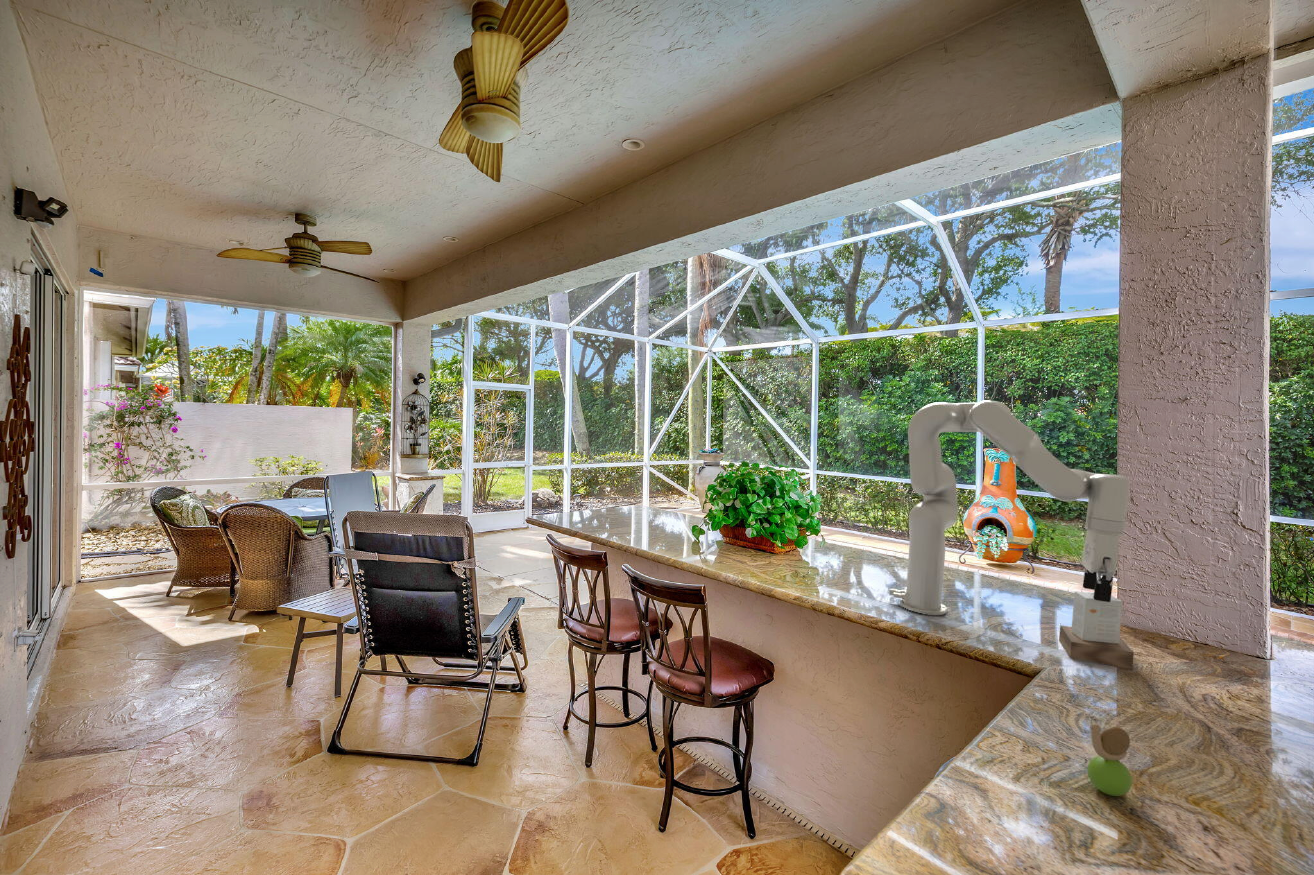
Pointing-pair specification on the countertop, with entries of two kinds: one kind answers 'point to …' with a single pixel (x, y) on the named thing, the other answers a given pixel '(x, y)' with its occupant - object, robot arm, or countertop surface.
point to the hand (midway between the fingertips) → (1095, 594)
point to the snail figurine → (1109, 760)
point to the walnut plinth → (1096, 650)
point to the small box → (1096, 618)
